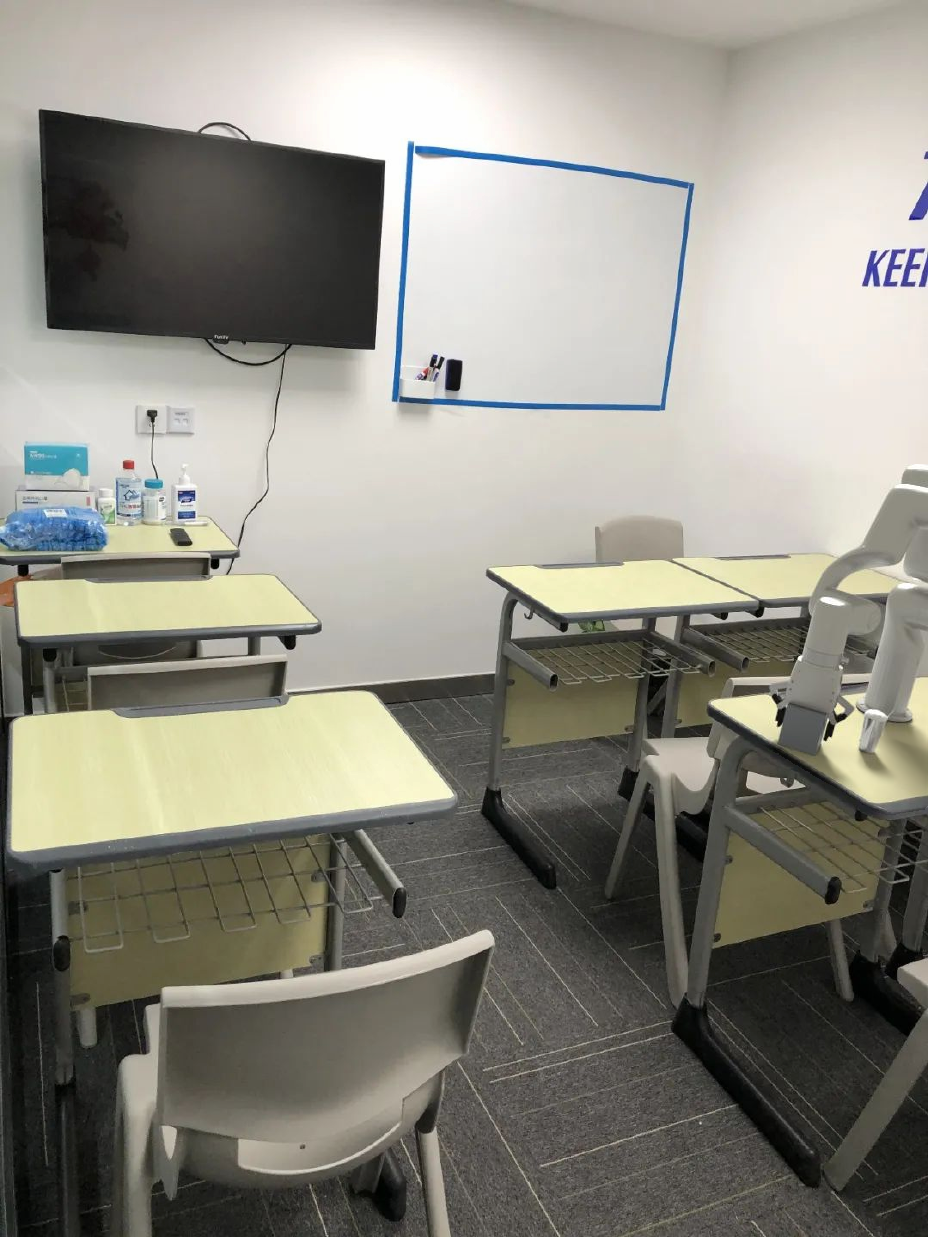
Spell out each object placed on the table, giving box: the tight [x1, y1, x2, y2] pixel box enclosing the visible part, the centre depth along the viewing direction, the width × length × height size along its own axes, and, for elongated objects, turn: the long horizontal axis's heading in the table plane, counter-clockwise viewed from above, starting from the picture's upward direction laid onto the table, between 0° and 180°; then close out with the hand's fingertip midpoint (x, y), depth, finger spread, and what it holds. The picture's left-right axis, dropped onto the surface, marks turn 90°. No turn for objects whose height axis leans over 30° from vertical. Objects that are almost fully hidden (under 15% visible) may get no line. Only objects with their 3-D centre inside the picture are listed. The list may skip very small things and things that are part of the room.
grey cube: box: [777, 703, 829, 756], centre depth 197 cm, size 8×8×9 cm
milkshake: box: [858, 709, 894, 754], centre depth 198 cm, size 4×5×10 cm
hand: (802, 732), depth 198 cm, fingers open, 9 cm apart
